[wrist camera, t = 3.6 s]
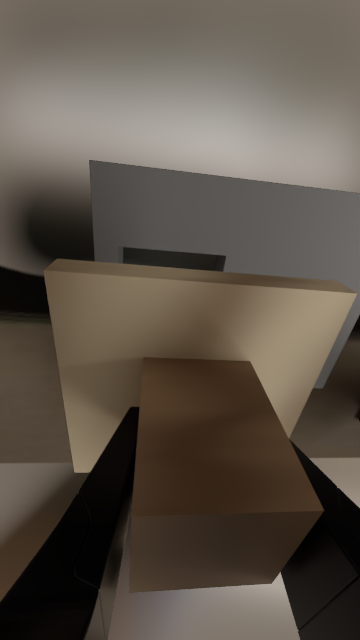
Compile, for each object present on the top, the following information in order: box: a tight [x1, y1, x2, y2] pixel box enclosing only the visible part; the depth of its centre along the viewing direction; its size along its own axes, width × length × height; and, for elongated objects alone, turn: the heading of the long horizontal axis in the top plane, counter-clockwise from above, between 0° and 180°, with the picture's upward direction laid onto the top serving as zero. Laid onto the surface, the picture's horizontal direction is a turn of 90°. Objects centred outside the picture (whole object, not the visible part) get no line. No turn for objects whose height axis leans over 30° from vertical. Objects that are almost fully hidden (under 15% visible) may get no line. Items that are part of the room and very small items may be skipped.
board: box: [89, 160, 360, 388], centre depth 20 cm, size 20×16×2 cm
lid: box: [44, 259, 357, 593], centre depth 9 cm, size 10×10×6 cm
